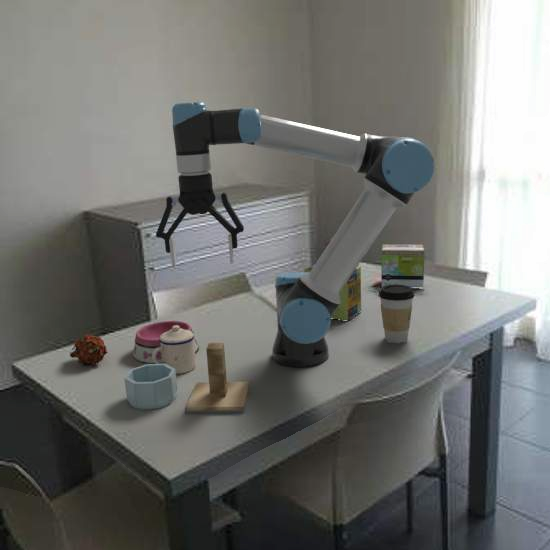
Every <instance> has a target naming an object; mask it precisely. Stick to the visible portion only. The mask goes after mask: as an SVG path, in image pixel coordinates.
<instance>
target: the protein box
mask: <svg viewBox="0 0 550 550" xmlns="http://www.w3.org/2000/svg"><path fill="white" fill-rule="evenodd" d="M314 266H315V264H314V265H312V266H309V267H307V268H305V269H304V271H303V272H309V273H310V272H311V270H312V269H313V267H314ZM361 268H362V267H361V265H358V266H357V268H356V269H355V271H354V272H353V273H352V275H351V276H350V278H349V279H348V281H347V282H346V284H345V285H344V287H343V288H342V290H341V291H340V293H339V296H340V301H341V303H340V304H339V306H338V307H337V309H336V310H335V312H334V313H333V315H332V316H331V318H333V319H340V320H347V321H348V320H349V319H351V318H352V317H354V316H355V315H356V314H358V313H359V312H360V311H361V312H362V279H361V278H362V273H361V271H362V269H361ZM359 314H360V313H359ZM359 314H358V315H359ZM356 316H357V315H356ZM356 316H355V317H356ZM355 317H354V318H355ZM333 319H332V320H333ZM352 319H353V318H352ZM352 319H351V320H352ZM340 320H339V321H340ZM347 321H346V322H347ZM349 321H350V320H349ZM349 321H348V322H349Z"/></svg>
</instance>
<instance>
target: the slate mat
mask: <svg viewBox="0 0 550 550" xmlns="http://www.w3.org/2000/svg"><path fill="white" fill-rule="evenodd" d="M250 387H251V386H249V390H248V394H247V398H246V403H245V407H244V410H206V411H186V410H185V413H186V414H211V413H212V414H217V413H221V414H224V413H226V414H227V413H231V414H232V413H245V410H246V409H245V408H246V405H247V400H248V396H249V391H250Z"/></svg>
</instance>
